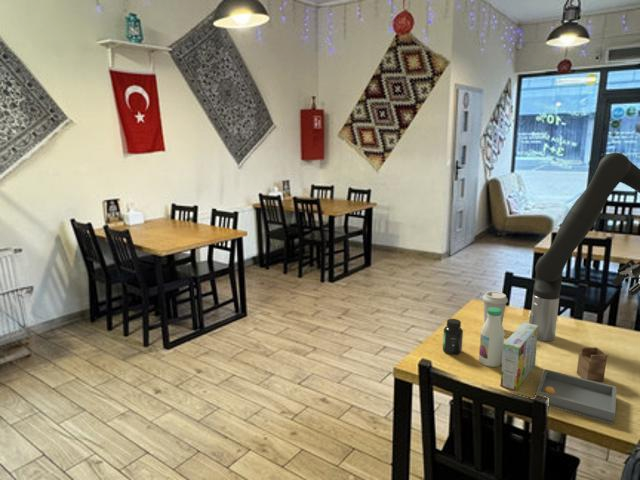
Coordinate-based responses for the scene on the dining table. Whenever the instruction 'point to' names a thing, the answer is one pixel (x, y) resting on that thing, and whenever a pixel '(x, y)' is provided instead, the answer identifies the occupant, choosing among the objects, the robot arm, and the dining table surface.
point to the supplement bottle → (453, 337)
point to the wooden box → (592, 364)
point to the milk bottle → (492, 339)
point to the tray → (579, 395)
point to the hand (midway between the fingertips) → (621, 288)
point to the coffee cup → (494, 302)
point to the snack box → (519, 355)
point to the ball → (549, 390)
